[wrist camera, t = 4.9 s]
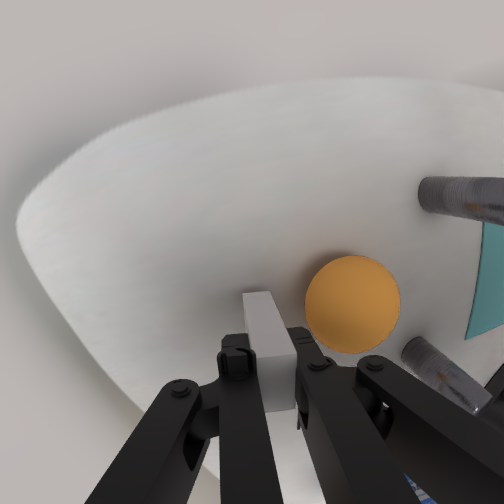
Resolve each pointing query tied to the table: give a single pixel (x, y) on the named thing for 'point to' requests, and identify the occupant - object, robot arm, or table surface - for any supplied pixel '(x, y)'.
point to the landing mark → (489, 283)
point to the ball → (352, 304)
